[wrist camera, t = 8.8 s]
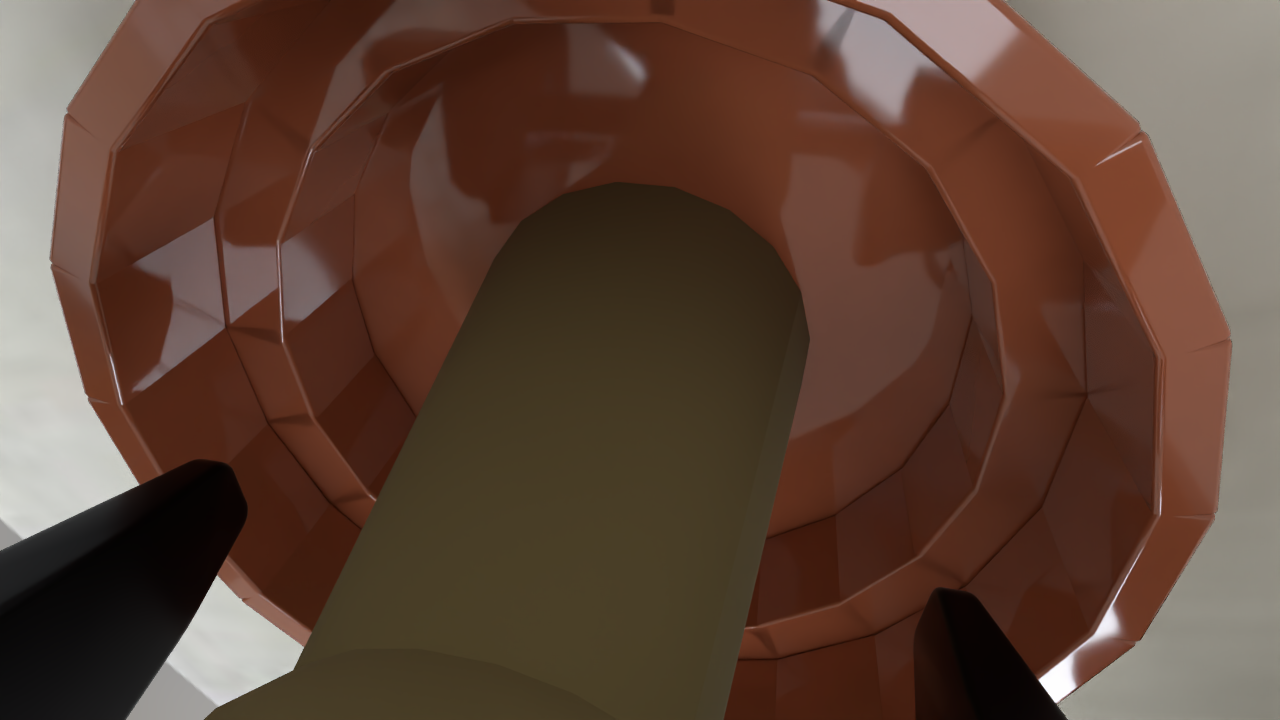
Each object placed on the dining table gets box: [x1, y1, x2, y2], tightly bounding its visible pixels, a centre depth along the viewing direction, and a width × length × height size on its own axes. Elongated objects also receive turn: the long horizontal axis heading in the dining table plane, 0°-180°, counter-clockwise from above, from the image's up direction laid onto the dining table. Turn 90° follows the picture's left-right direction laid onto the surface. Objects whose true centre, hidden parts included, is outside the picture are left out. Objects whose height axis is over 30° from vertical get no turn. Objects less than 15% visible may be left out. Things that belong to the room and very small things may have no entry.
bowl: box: [50, 0, 1232, 720], centre depth 11 cm, size 14×14×5 cm
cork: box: [204, 182, 810, 720], centre depth 8 cm, size 6×6×11 cm
